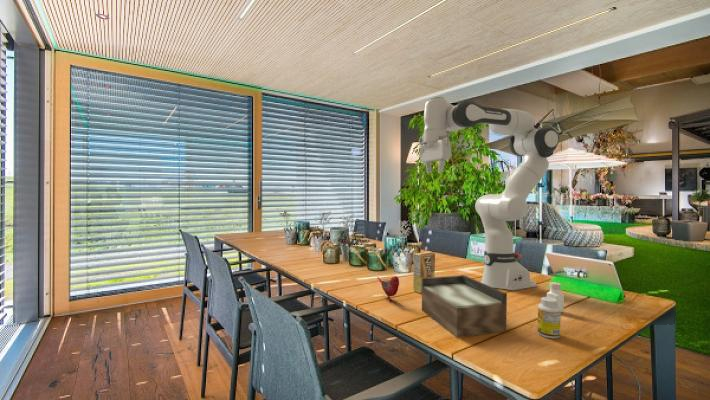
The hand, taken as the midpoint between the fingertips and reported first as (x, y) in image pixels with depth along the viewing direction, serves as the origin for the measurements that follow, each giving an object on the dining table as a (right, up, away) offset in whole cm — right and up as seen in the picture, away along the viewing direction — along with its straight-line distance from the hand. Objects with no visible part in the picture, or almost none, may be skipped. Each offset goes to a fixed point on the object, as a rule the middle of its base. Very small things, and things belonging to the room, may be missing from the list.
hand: (434, 172), depth 139 cm
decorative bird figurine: (-20, -49, -10) cm, 54 cm away
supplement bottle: (+22, -49, -42) cm, 69 cm away
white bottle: (+35, -49, -24) cm, 65 cm away
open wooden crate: (+1, -49, -31) cm, 58 cm away
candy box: (-4, -48, 0) cm, 48 cm away
